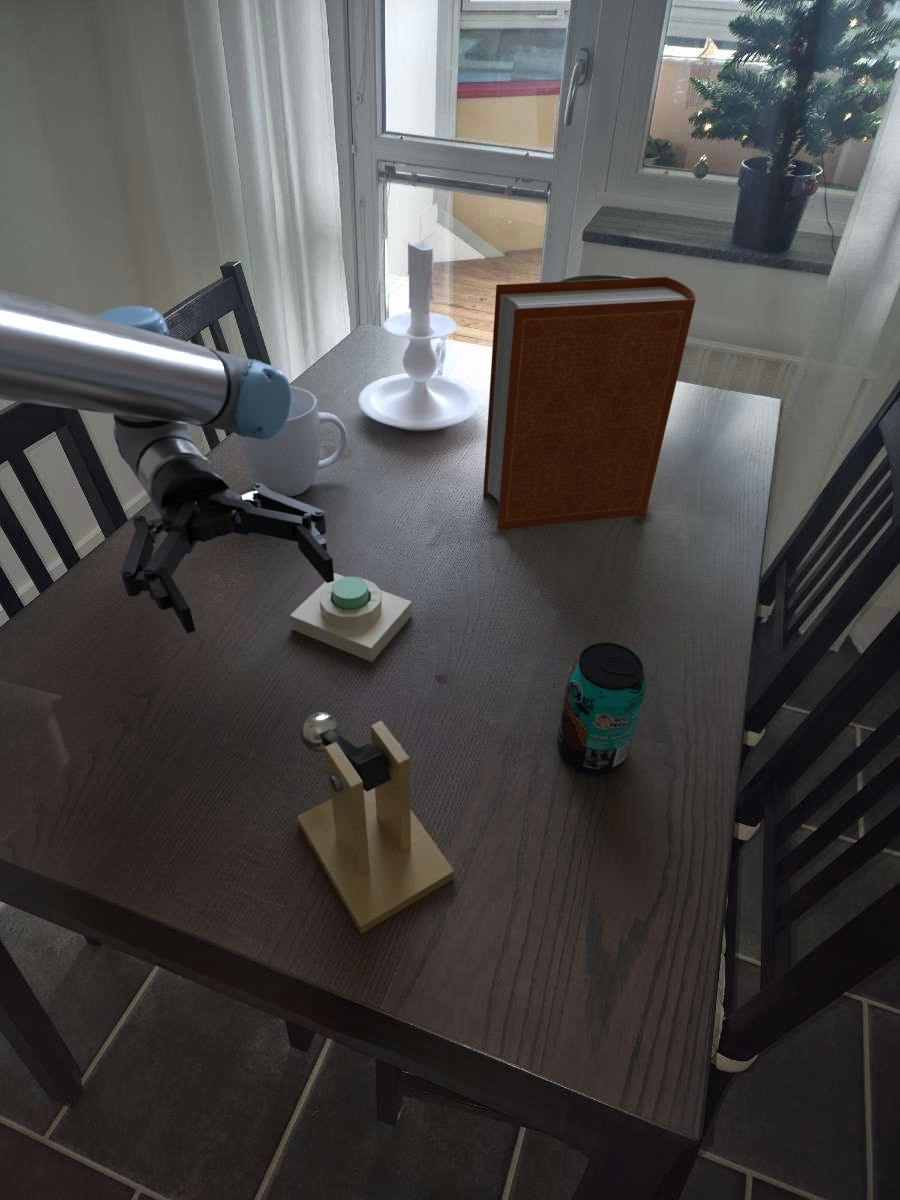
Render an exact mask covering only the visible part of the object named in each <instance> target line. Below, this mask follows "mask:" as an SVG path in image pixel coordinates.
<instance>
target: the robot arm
mask: <svg viewBox="0 0 900 1200" xmlns="http://www.w3.org/2000/svg"><path fill="white" fill-rule="evenodd" d="M165 319H166V318H165V317H164V315H162V314H161V313H160V312H159V311H158V310H156V308H155V309H154V308H153V307H148V306H144V305H143V306H141V305H126V306H119V307H114V308H110V309H107V310H105V311H103V312H101V313H99V314H97V315H94V314H91V313H90V314H89V313H86V312H83V311H79V310H76V309H72V308H70V307H65V306H63V305H62V306H61V305H58V304H54V303H51V302H47V301H45V300H44V301H43V300H40V299H36V298H33V297H29V296H27V295H23V294H20V293H19V294H18V293H16V292H12V291H8V290H4V289H2V288H0V400H4V401H11V402H18V403H26V404H32V405H41V406H48V407H56V408H64V409H72V410H77V411H78V410H79V411H87V412H92V413H93V412H94V413H102V414H107V415H108V414H109V415H113V421H114V426H113V438H114V441H115V443H116V446H117V451H118V453H119V455H120V457H121V459H123V460H124V462H125V463H126V464H127V466H129V468H130V469H131V471H132V473H133V474H134V475H135V477H136V478H137V480H138V482H139V484H140V485H141V486H142V487H143V489H144V491H145V492H146V494H147V496H148V497H149V499H150V500H151V502H152V503H153V505H154V507H155V509H156V510H157V512H158V513H159V515H160V517H159V518H155V519H151V520H147V518H146V516H145V515H136V516H134V517H133V518H132V523H133V525H134V526H133V527H134V533H133V536H132V540H131V542H130V544H129V548H128V550H127V554H126V557H125V560H124V562H123V566H122V568H121V571H120V575H121V579H122V581H123V586H124V589H125V591H126V594H127V596H128V597H132V598H135V597H137V596H139V595H140V594H141V593H142V592H148V593H149V597H150V599H151V600H152V601H155V604H156V606H157V607H158V609H160V610H161V611H165V610H167V609H172V610H173V611H174V613H175V615H176V617H177V618H178V621H179V622H180V624H181V626H182V627H183V629H184V631H185V633H186V634H190V633H193V632H196V627H195V623H194V619H193V615H192V611H191V608H190V606H189V603H188V602H187V601H186V598H184V595H183V594H182V592H181V590H180V589H179V587H178V585H177V584H176V582H175V580H174V579H173V577H172V576H173V575H174V573H175V571H177V569H178V567H179V565H180V564H181V562H182V561H183V559H184V558H185V556H186V554H191V553H192V551H193V549H194V548H195V546H196V545H197V544H198V542H201V543H206V542H208V541H209V542H210V541H212V540H213V539H215V538H218V537H224V536H228V535H231V534H233V533H234V534H238V535H244V536H249V535H250V534H256V535H257V534H258V535H261V536H267V537H272V538H275V539H280V540H286V541H291V542H295V543H297V548H298V550H299V551H300V552H301V554H302V555H303V556H304V557H305V558H306V560H307V561H308V562H309V564H310V565H311V567H313V568H314V569H315V570H316V572H317V573H318V574H319V576H320V577H321V578H322V579H323V581H324V582H325V581H326V582H327V583H330V582H332V581H334V573H335V572H334V563H333V562H334V561H333V557H332V556H331V555H330V554H329V553H328V548H327V540H326V538H325V537H324V535H326V533H327V524H326V513H325V510H323V509H320V508H318V507H316V506H314V505H310V504H307V503H305V502H302V501H300V500H296V499H295V498H292V497H286V496H284V495H281V494H278V493H276V492H273V491H271V490H269V489H268V488H267V487H266V486H265V485H263V484H262V483H258V482H254V483H252V484H251V491H249V492H245V493H244V494H240V493H238V492H235V491H232V489H231V488H230V487H229V485H228V483H227V481H225V479H224V478H223V476H222V475H221V474H220V473H219V472H218V471H217V469H216V468H215V467H214V465H213V464H212V462H210V460H209V459H208V458H207V457H206V455H204V453H203V452H202V451H201V450H200V448H199V447H198V446H197V445H196V443H195V441H194V440H193V439H192V437H191V435H190V432H189V427H188V425H192V426H195V427H200V428H208V429H215V430H222V431H226V432H231V433H233V434H237V435H238V436H239V437H240V436H242V437H252V438H256V439H261V440H263V439H269V438H271V437H273V436H275V435H276V434H277V433H279V431H280V430H281V429H282V428H283V426H284V425H285V423H286V421H287V419H288V416H289V410H290V405H291V402H292V393H291V387H292V386H291V383H290V381H289V379H288V377H287V375H286V374H285V373H284V371H282V370H281V369H280V368H278V367H277V366H275V365H274V366H273V365H271V364H268V363H264V362H262V361H261V360H258V359H251V358H246V357H244V356H239V355H236V354H233V353H232V354H231V353H228V352H224V351H221V350H217V349H213V348H210V347H206V346H203V345H200V344H196V343H193V342H189V341H186V340H182V339H178V338H175V337H172V336H170V329H169V327H168V325H167V322H166V320H165ZM164 531H165V533H167V534H166V536H165V538H164V539H163V541H162V542H161V543H160V545H159V546H158V548H157V550H155V552H154V547H155V546H154V544H158V542H159V541H158V538H159V537H160V534H161V533H162V532H164ZM153 553H154V554H153Z"/></svg>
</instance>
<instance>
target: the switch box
mask: <svg viewBox="0 0 900 1200" xmlns="http://www.w3.org/2000/svg"><path fill="white" fill-rule="evenodd" d="M344 577H345V575H341V574H339V573H336V572H334V581H332V582H330V583H327V582H326V581H325V580H324V582H323V583H321V585H320V586H319V587H318V588H316V590H314V591H313V592H312V593H311V594H310V595H309V596H308V597H307V598H305V600H304V601H303V602H302V603H300V605H298V607H297V608H296V609H294V611H292V612H291V613H290V614H289V622H290V628H291V630H292V631H295V632H297V633H300V634H302V635H305V636H307V637H309V638H312V639H313V640H314V639H315V640H317V641H319V642H321V643H324V644H326V645H328V646H331V647H333V648H336V649H339V650H341V651H344V652H346V653H349V654H350V655H353V656H355V657H358V658H359V659H363V660H365V661H368V662H370V663H373V662H374V661H375V660H376V658H377V657H378V656H379V655H380V654H381V652H383V650H384V649H385V648H386V647H387V646H388V644H389V643H390V642H391V641H392V640H393V638H394V637H395V636H397V634H398V632H400V630H401V629H402V628H403V627H404V626H405V625H406V623H407V622H408V621H409V620H410V619H411V618H412V616H413V601H411V600H408V599H406V598H403V597H400V596H399V595H395V594H392V593H389V592H387V591H384V590H382V589H380V588H379V587H378V586H377V585H376V583H375V582H373V581H371V580H368V579H366V578H363V577H360V578H361V579H363V580H364V581H365V582H366V583H367V585H368V602H367V603H366V605H365V606H363V607H361V608H359V609H356V610H343V609H341V608H338V607H337V606H336V605H335V604H334V601H333V592H332V587H333V584H334V583H335V582H336V581H337V580H339V579H341V578H344Z"/></svg>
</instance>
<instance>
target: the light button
mask: <svg viewBox="0 0 900 1200" xmlns="http://www.w3.org/2000/svg"><path fill="white" fill-rule="evenodd" d="M361 578H362V577H359V576H351V575H350V576H344V578H341V579H339V580H337V581H336V582H335V583H334V584H333V587H332V592H333V601H334V604H335V605H336V606H337V607H338V608H341V609H343V610H356V609H359V608H361V607H363V606H365V605H366V603H367V602H368V585H367V583H366V582H365V581H364V580H363V579H364V578H363V579H361Z"/></svg>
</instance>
